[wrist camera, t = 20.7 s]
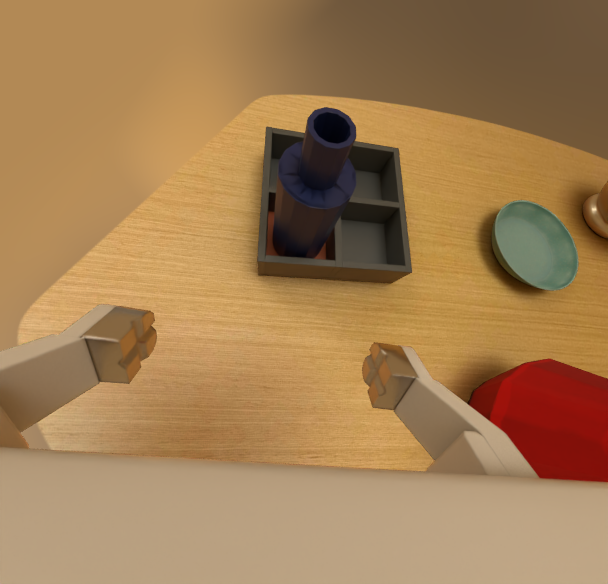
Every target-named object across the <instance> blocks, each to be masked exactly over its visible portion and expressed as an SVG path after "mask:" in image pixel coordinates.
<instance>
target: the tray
mask: <svg viewBox="0 0 608 584" xmlns="http://www.w3.org/2000/svg"><path fill="white" fill-rule="evenodd" d="M304 136H305V133H301V132H295V131H289V130H283V129H277V128H272V127H266V136H265V151H264V166H263V182H262V197H261V212H260V227H259V242H258V258H257V264H258V275H265V276H281V277H297V278H313V279H329V280H345V281H360V282H376V283H393V282H394V281H396V280H398V279H400V278H402V277H404V276H406V275H408V274H410V273H412V268H411V258H410V249H409V240H408V231H407V222H406V212H405V203H404V194H403V185H402V175H401V166H400V157H399V148H393V147H387V146H381V145H375V144H369V143H363V142H357V141H354V144H353V146H352V148H351V150H350V153H349V155H348V157H347V158H348V159H349V160H350V162H351V164H352V166H353V168H354V170H355V172H356V187H355V190H354V192H353V194H352V196H351V198H350V200H349V202H348V204H347V205H346V207H345V209H344V211H343V212H342V214H341V216H340V218H339V219H338V221H337V223H336V225H335V226H334V228H333V230H332V232H331V233H330V235H329V237H328V239H327V240H326V242H325V244H324V246H323V247H322V249H321V251H320V253H319V254H318V255H317V256H316V257H315V258H314V259H311V258H298V257H285V256H279V255H278V253H277V252H276V250H275V248H274V245H273V226H274V213H275V200H276V188H277V175H278V162H279V160H280V158H281V156H282V155H283V153H284V151H285V150H286V149H288V148H289V147H291V146H292V145H294V144H295V143H297V142H303V141H304Z"/></svg>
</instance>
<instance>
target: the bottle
mask: <svg viewBox="0 0 608 584" xmlns="http://www.w3.org/2000/svg"><path fill="white" fill-rule="evenodd" d="M468 405H469V406H471V407H472V408H473V409H475V410H476V411H477V412H479V413H480V414H481V415H482V416H484V417H485V418H486V419H488V420H489V421H490V422H492V423H493V424H494V425H495V426H497V427H498V428H499V429H501V430H502V431H503V432H505V433H506V434H507V436H508V437H509V438H510V440H511V441H512V442H513V444H514V445H515V446H516V448H517V449H518V450H519V452H520V453H521V454H522V455H523V457H524V458H525V459H526V461H527V462H528V463H529V465H530V466H531V467H532V469H533V470H534V471H535V473H536V474H537V475H538V476H539V478H544V479H561V480H578V481H596V482H608V379H607V378H604V377H601V376H598V375H595V374H592V373H589V372H587V371H584V370H581V369H578V368H575V367H572V366H569V365H567V364H564V363H561V362H558V361H555V360H552V359H544V360H538V361H532V362H527V363H524V364H521V365H519V366H517V367H515V368H513V369H511V370H509V371H507V372H505V373H503V374H500V375H498V376H496V377H494V378H492V379H490V380H488V381H486V382H484V383H483V384H482V385H480V386H479V387H478V388H476V389H475V390H474V391H473V392H472V395H471V397H470V400H469V402H468Z"/></svg>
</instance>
